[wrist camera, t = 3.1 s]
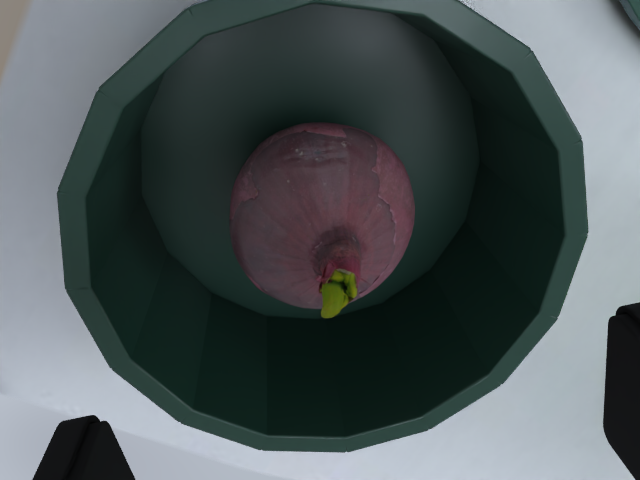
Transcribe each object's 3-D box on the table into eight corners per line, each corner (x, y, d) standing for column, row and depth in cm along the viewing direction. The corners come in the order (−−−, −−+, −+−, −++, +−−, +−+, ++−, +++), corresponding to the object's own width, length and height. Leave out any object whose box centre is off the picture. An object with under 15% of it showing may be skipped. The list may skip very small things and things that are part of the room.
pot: (70, 244, 23) (-11, 359, 16) (224, -120, 18) (200, -173, 11) (371, 368, 27) (405, 500, 20) (564, 99, 22) (694, 157, 15)
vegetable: (382, 84, 20) (473, 174, 12) (397, 234, 23) (479, 401, 14) (218, 112, 20) (180, 224, 11) (252, 259, 23) (243, 443, 14)
